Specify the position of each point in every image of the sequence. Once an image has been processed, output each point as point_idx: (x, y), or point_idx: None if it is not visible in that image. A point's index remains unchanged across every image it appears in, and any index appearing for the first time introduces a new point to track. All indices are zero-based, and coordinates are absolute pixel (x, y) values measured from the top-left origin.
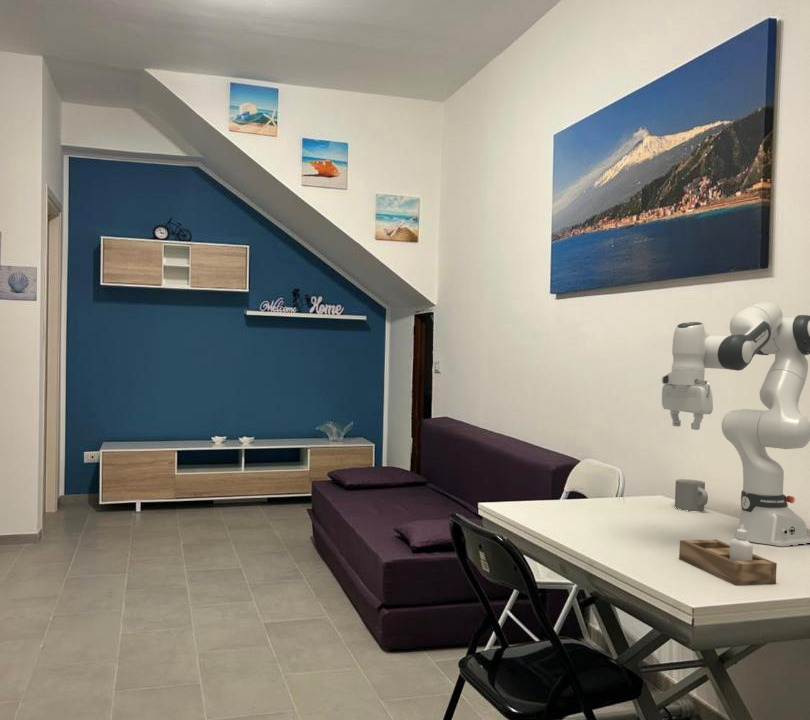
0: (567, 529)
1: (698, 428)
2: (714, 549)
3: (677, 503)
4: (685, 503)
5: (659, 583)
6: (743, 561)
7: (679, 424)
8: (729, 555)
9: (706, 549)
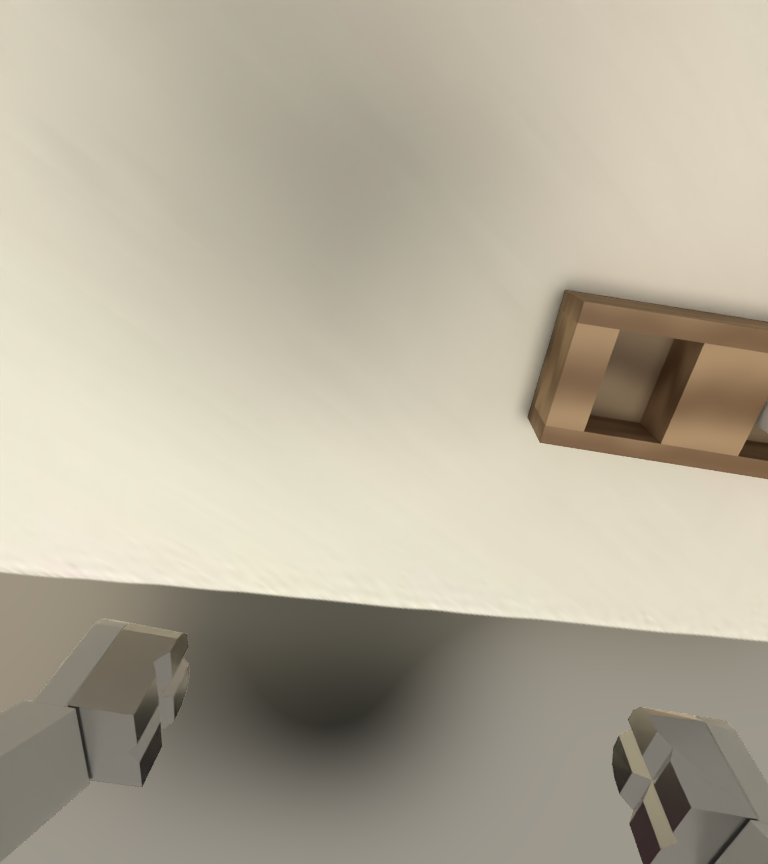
0: (136, 501)
1: (723, 743)
2: (686, 422)
3: None
4: None
5: (677, 606)
6: None
7: (170, 663)
8: (762, 429)
9: (672, 447)
